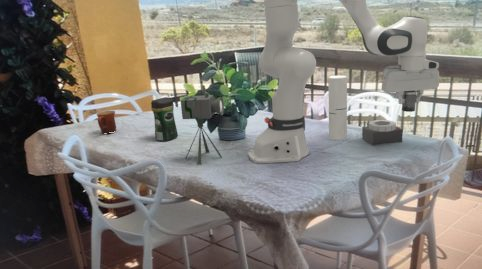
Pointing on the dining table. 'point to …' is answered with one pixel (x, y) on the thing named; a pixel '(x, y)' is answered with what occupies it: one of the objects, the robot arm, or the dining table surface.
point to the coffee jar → (164, 119)
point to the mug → (106, 121)
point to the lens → (409, 101)
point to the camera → (201, 114)
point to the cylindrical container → (337, 107)
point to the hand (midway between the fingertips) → (408, 103)
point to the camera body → (382, 132)
